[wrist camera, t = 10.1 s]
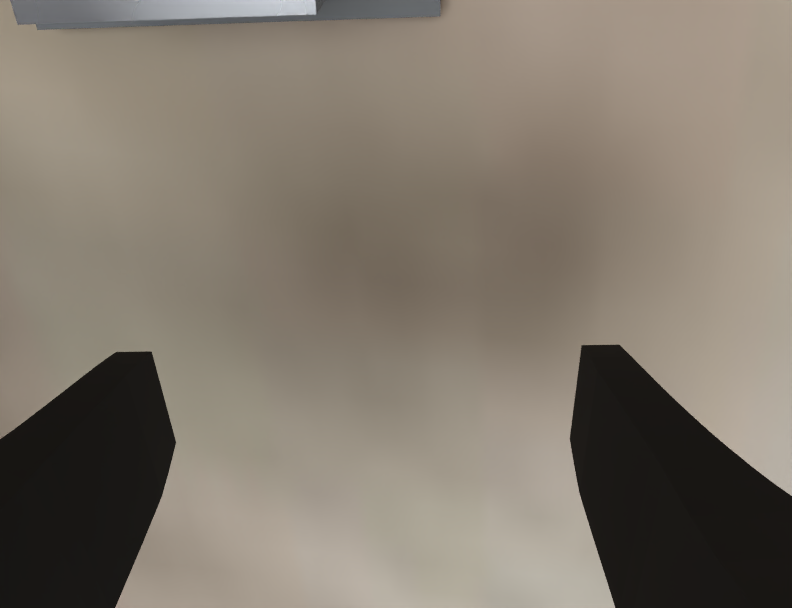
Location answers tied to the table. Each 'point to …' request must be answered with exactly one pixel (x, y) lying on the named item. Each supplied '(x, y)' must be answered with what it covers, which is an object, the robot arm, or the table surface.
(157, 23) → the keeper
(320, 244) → the table surface
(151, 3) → the link
